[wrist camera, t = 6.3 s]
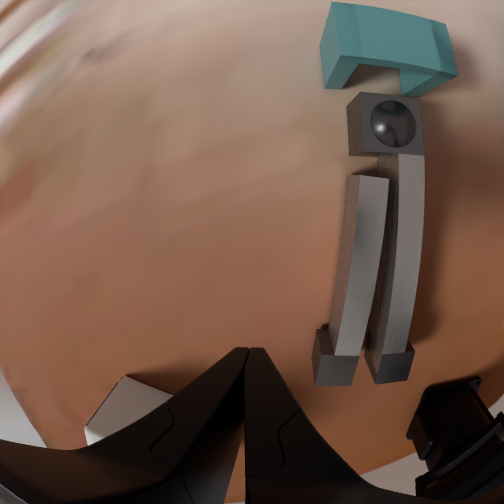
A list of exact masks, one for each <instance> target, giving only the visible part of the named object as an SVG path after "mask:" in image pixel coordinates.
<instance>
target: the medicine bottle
mask: <svg viewBox="0 0 504 504" xmlns="http://www.w3.org/2000/svg"><path fill="white" fill-rule="evenodd" d="M172 396H173V395H171V394H169V393H166V392H163V391H161V390H158V389H156V388H153V387H151V386H148V385H146V384H143V383H141V382H138V381H136V380H134V379H131V378H129V377H127V376H123V377H121V379H120V380H119V381H118V383H117V384H116V385H115V387H114V388H113V389H112V391H111V392H110V393H109V395H108V396H107V397H106V399H105V400H104V402H103V403H102V404H101V406H100V407H99V408H98V410H97V411H96V412H95V414H94V415H93V416H92V418H91V419H90V421H89V422H88V423H87V425H86V426H85V434H86V439H87V444H88V445H91V444H93V443H95V442H97V441H99V440H101V439H103V438H105V437H107V436H109V435H111V434H113V433H115V432H117V431H119V430H121V429H123V428H124V427H126V426H128V425H130V424H132V423H133V422H135V421H137V420H139V419H140V418H142V417H143V416H145V415H146V414H148V413H149V412H151V411H152V410H154V409H155V408H157V407H158V406H160V405H161V404H162V403H164V402H166V401H167V400H168V399H169V398H171V397H172Z"/></svg>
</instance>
